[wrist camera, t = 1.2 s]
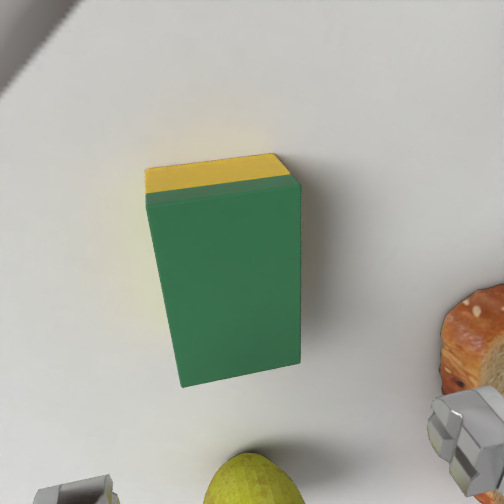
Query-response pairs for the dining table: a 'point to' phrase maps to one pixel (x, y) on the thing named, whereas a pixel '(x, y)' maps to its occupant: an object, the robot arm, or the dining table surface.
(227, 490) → the fruit
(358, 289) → the dining table surface
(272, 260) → the sponge
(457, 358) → the slice of bread
